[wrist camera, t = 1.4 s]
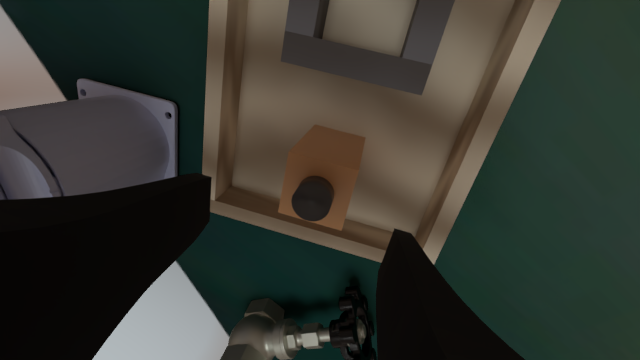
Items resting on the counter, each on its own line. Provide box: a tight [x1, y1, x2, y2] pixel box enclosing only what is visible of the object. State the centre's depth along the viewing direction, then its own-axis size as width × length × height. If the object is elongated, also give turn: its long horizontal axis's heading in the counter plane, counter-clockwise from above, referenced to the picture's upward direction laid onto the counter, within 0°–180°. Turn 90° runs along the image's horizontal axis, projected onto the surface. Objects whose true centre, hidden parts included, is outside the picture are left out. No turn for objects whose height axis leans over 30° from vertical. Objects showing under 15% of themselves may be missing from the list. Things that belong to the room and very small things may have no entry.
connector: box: [278, 125, 365, 231], centre depth 17 cm, size 3×3×7 cm
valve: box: [220, 285, 377, 360], centre depth 24 cm, size 7×7×12 cm
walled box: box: [202, 0, 561, 265], centre depth 17 cm, size 20×16×4 cm
